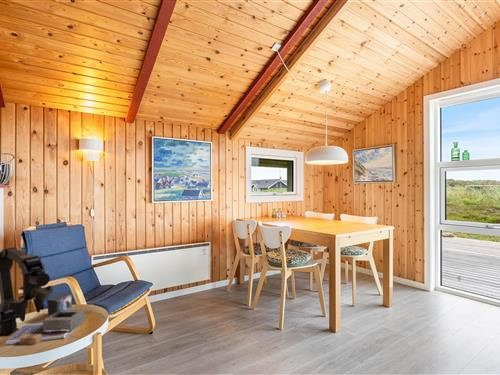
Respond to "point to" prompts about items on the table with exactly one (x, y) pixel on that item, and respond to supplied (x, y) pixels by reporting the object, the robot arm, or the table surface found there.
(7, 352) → the table surface
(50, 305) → the small box
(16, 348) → the table surface
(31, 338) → the tan rectangular block
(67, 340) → the table surface
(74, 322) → the grey slotted block
